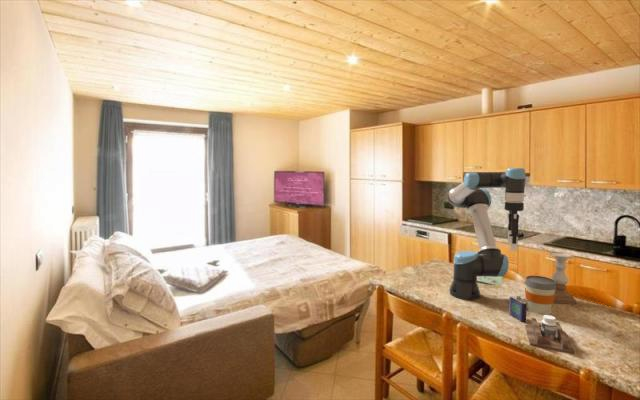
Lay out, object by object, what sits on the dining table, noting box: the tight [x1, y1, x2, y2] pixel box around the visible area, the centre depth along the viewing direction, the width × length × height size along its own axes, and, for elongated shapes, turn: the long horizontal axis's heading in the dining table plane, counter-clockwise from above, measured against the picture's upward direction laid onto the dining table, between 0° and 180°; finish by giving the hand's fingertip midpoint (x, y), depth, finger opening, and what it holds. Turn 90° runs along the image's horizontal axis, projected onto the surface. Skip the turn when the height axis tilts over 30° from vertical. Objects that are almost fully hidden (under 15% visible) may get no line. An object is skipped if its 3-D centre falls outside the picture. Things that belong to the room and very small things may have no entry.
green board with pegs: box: [477, 276, 503, 285], centre depth 201 cm, size 25×21×9 cm
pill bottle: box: [540, 314, 557, 340], centre depth 129 cm, size 5×5×8 cm
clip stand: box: [524, 317, 576, 355], centre depth 129 cm, size 16×14×4 cm
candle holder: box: [548, 251, 577, 305], centre depth 167 cm, size 11×11×24 cm
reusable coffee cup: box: [524, 275, 556, 315], centre depth 155 cm, size 13×13×15 cm
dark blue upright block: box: [508, 295, 528, 324], centre depth 147 cm, size 9×3×11 cm, turn 8°
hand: (512, 247), depth 150 cm, fingers open, 13 cm apart
